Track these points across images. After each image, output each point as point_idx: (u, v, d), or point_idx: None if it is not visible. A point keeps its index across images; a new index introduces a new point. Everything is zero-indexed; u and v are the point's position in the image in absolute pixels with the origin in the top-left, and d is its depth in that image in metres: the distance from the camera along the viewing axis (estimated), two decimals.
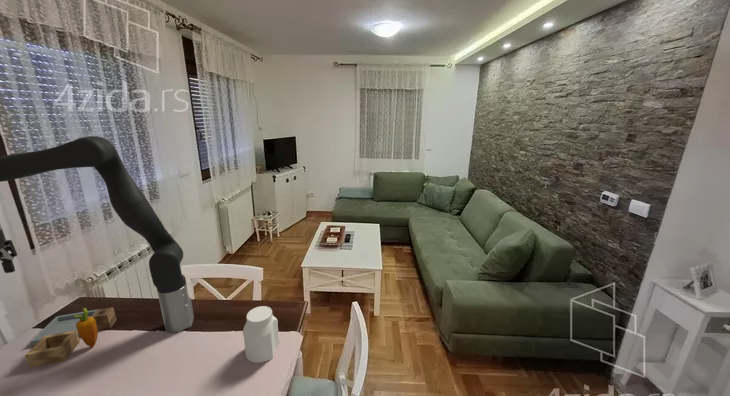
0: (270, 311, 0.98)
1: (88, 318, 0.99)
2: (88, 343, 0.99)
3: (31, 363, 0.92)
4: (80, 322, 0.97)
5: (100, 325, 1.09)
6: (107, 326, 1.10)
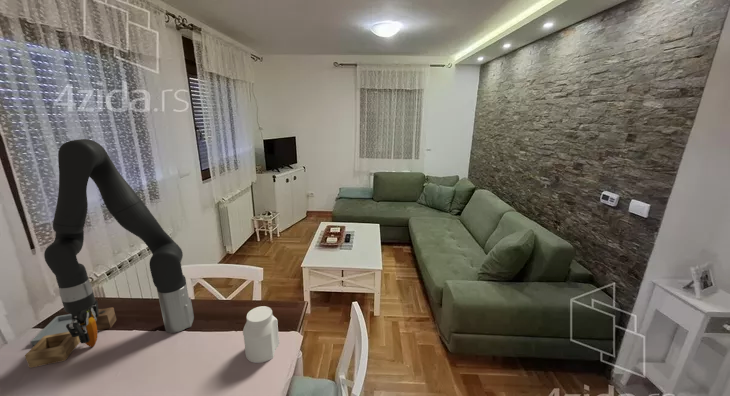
0: (270, 311, 0.98)
1: None
2: (88, 343, 0.99)
3: (31, 363, 0.92)
4: None
5: (100, 325, 1.09)
6: (107, 326, 1.10)
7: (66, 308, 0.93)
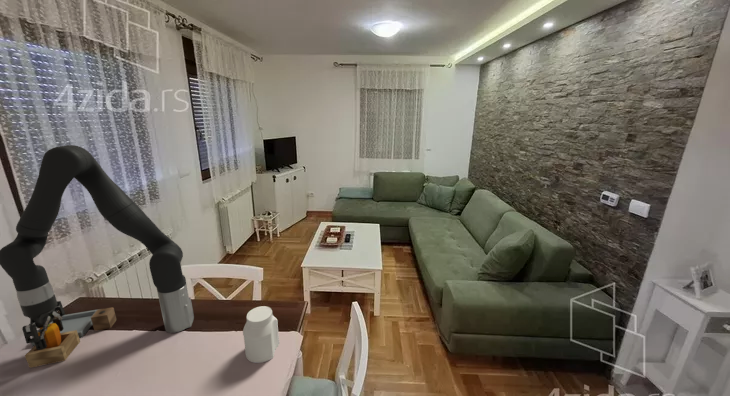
0: (270, 311, 0.98)
1: (50, 325, 0.96)
2: None
3: (31, 363, 0.92)
4: None
5: (100, 325, 1.09)
6: (107, 326, 1.10)
7: (24, 312, 0.89)
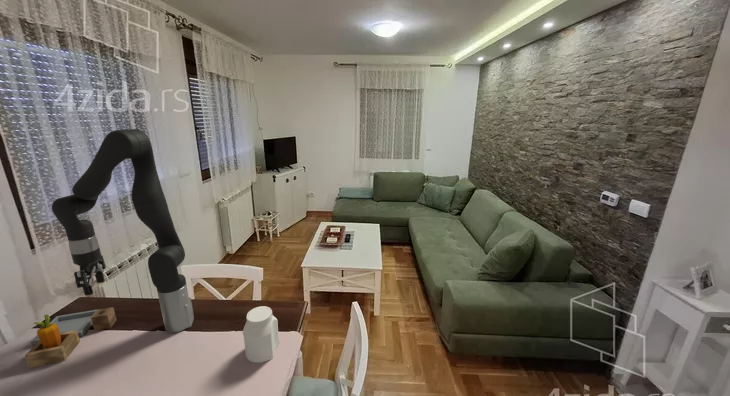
0: (270, 311, 0.98)
1: (50, 325, 0.95)
2: None
3: (31, 363, 0.92)
4: (41, 329, 0.94)
5: (100, 325, 1.09)
6: (107, 326, 1.10)
7: (75, 260, 1.00)
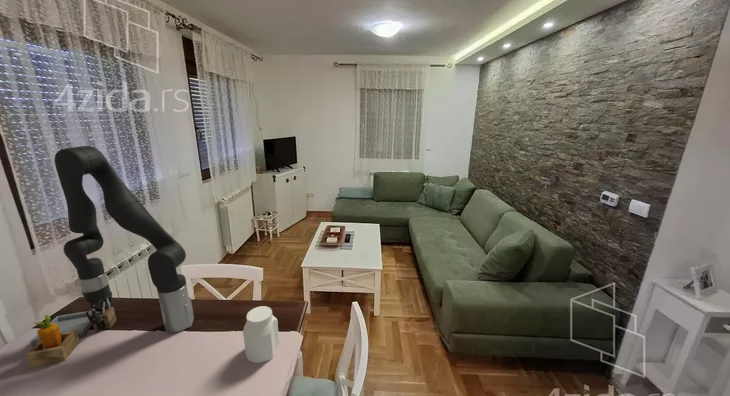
0: (270, 311, 0.98)
1: (51, 325, 0.95)
2: None
3: (31, 363, 0.92)
4: (42, 329, 0.94)
5: None
6: (107, 326, 1.10)
7: (85, 298, 1.04)
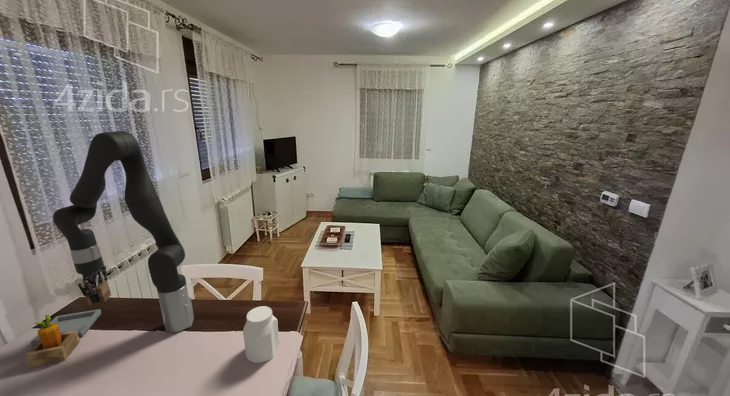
0: (270, 311, 0.98)
1: (51, 325, 0.95)
2: None
3: (31, 363, 0.92)
4: (42, 329, 0.94)
5: None
6: (101, 300, 1.07)
7: (77, 269, 1.01)
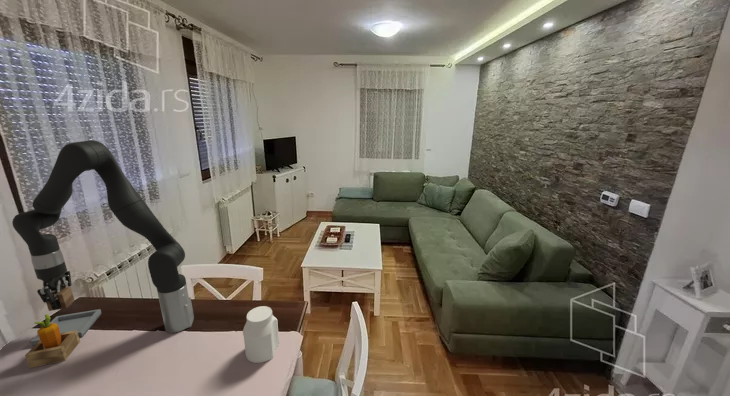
0: (270, 311, 0.98)
1: (51, 324, 0.96)
2: None
3: (31, 363, 0.92)
4: (42, 329, 0.94)
5: None
6: (62, 306, 1.05)
7: (38, 275, 0.99)
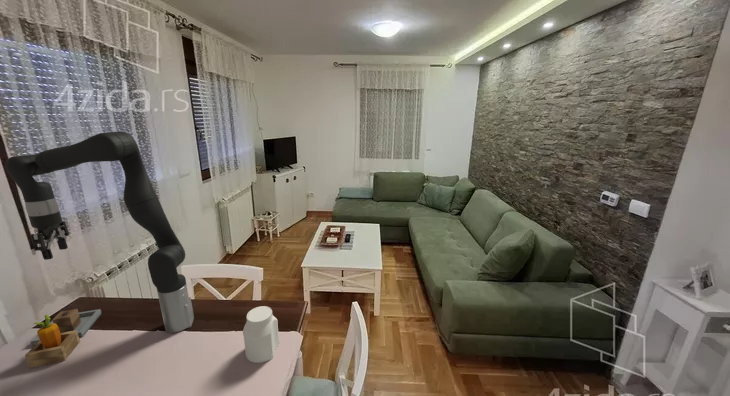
0: (270, 311, 0.98)
1: (50, 325, 0.95)
2: None
3: (31, 363, 0.92)
4: (41, 329, 0.93)
5: (63, 327, 1.07)
6: (70, 328, 1.07)
7: (32, 222, 0.98)
